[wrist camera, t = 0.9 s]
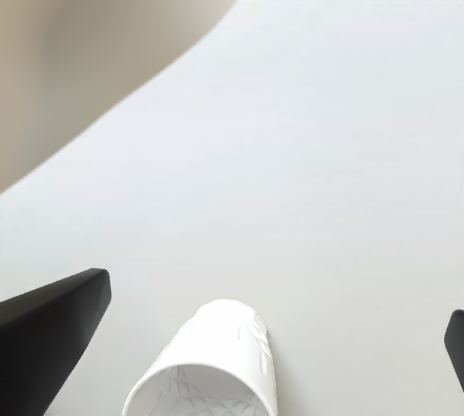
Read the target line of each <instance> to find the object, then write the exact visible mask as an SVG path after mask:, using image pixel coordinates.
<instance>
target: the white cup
mask: <svg viewBox="0 0 464 416" xmlns="http://www.w3.org/2000/svg"><path fill="white" fill-rule="evenodd" d="M121 416H279V414H278V403H277V392H276V382H275V373H274V365H273V359H272V352H271V349H270V343H269V338H268V333H267V328H266V325H265V324H264V322H263V321H262V320H261V318H260V317H259V316H258V314H257V313H256V312H255V310H254V309H252V308H250V307H248V306H246V305H244V304H243V303H241V302H239V301H237V300H221V299H218V300H215V301H213V302H211V303H208V304H206V305H203V306H201V307H200V308H199V310H198V311H197V312H196V313H195V314H194V315H193V317H192V318H191V319H190V320H189V321H188V322H187V323H185V324H184V325H183V326H182V328H181V329H180V330H179V331H178V332H177V333H176V335H175V336H174V337H173V339H172V340H171V341H170V342H169V343H168V344H167V345H166V347H165V348H164V349H163V351H162V352H161V353H160V355H159V356H158V357H157V358H156V360H155V361H154V362H153V364H152V365H151V366H150V367H149V369H148V370H147V371H146V372H145V374H144V375H143V376H142V378H141V379H140V380H139V381H138V383H137V384H136V385H135V386H134V388H133V389H132V391H131V392H130V394H129V396H128V398H127V400H126V402H125V404H124V407H123V411H122V415H121Z"/></svg>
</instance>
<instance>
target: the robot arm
mask: <svg viewBox="0 0 464 416" xmlns="http://www.w3.org/2000/svg"><path fill="white" fill-rule="evenodd" d="M110 301H111V286H110V277H109V273H108V271H107V270H106V269H98V268H91V269H88V270H86V271H83V272H80V273H78V274H75V275H72V276H70V277H67V278H64V279H62V280H59V281H56V282H54V283H51V284H48V285H45V286H43V287H40V288H37V289H35V290H32V291H29V292H27V293H24V294H21V295H19V296H16V297H13V298H11V299H8V300H5V301H3V302H0V416H43V415H44V413H45V412H46V410H47V409H48V407H49V406H50V404H51V403H52V401H53V400H54V398H55V396H56V395H57V393H58V392H59V390H60V389H61V387H62V386H63V384H64V383H65V381H66V380H67V378H68V376H69V375H70V373H71V372H72V370H73V369H74V367H75V366H76V364H77V363H78V361H79V359H80V358H81V356H82V355H83V353H84V351H85V350H86V348H87V346H88V344H89V342H90V340H91V338H92V336H93V335H94V333H95V331H96V329H97V327H98V325H99V323H100V321H101V319H102V317H103V315H104V313H105V311H106V309H107V308H108V306H109V304H110ZM444 342H445V347H446V349H447V352H448V354H449V357H450V359H451V362H452V364H453V367H454V369H455V372H456V374H457V377H458V379H459V382H460V384H461V387H462V389H463V392H464V310H460V309H458V310H455V311H454V312H453V313H452V316H451V318H450V321H449V324H448V327H447V330H446V333H445V337H444Z"/></svg>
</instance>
